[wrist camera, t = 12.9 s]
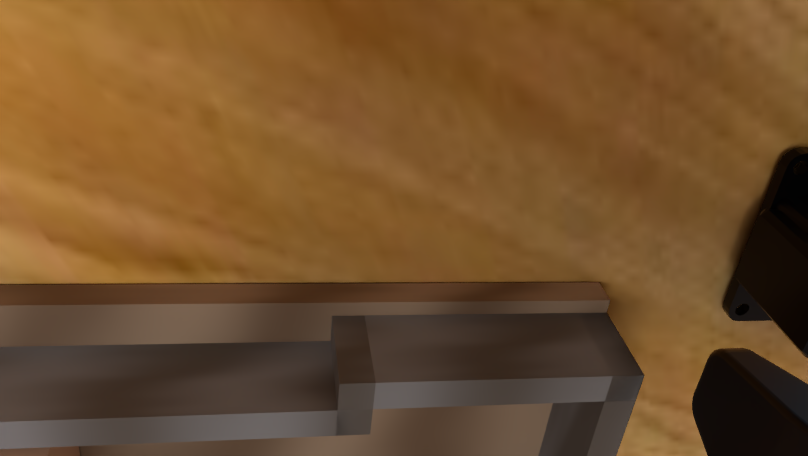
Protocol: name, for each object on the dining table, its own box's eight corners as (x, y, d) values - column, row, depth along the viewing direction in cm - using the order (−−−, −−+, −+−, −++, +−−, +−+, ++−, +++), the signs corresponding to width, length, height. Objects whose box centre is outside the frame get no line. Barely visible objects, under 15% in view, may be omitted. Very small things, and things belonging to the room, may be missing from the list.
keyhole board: (599, 282, 26) (648, 362, 22) (541, 484, 31) (574, 574, 27) (-129, 285, 22) (-202, 383, 18) (-55, 516, 27) (-102, 626, 23)
